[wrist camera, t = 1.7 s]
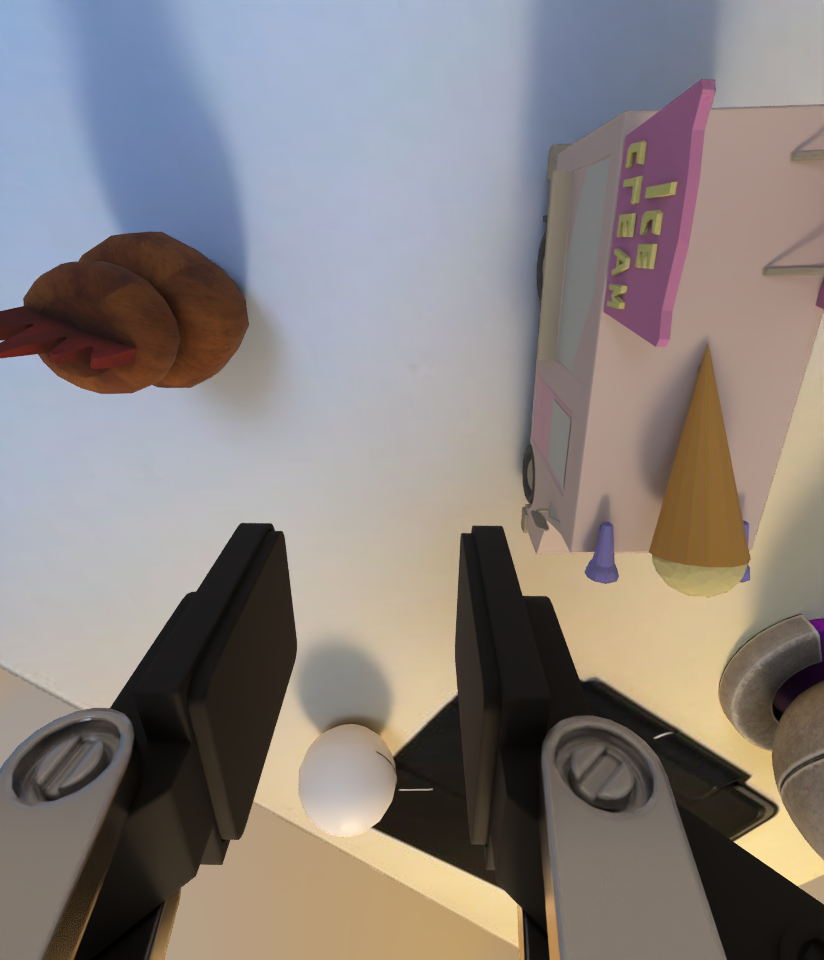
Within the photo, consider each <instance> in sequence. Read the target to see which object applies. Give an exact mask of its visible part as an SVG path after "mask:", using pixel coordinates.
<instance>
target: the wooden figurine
mask: <svg viewBox="0 0 824 960" xmlns="http://www.w3.org/2000/svg"><path fill="white" fill-rule="evenodd" d="M23 299H24V306H23V307H18V308H13V309H9V310H4V311H0V340H5V341H3V342H1V343H0V358H7V357H16V356H24V355H33V354H38V355H39V356H40V358H41V359H42V361H43V362H44V363H45V364H46V365H47V366H48V367H49V368H50V369H51V370H52V371H53V372H54V373H55V374H56V375H57V376H59V377H61V378H63V379H65V380H67V381H68V382H70V383H72V384H74V385H76V386H78V387H80V388H83V389H86V390H90V391H93V392H97V393H100V394H118V393H134V392H136V391H138V390H141V389H143V388H145V387H148V386H150V385H154V386H156V387H162V388H191V387H193V386H195V385H197V384H199V383H201V382H203V381H205V380H207V379H209V378H211V377H212V376H214V375H215V374H216V373H218V372H219V371H220V370H221V369H222V368H223V367H224V366H225V365H226V364H227V362H228V361H229V360H230V359H231V357H232V356H233V355H234V353H235V352H236V351H237V349H238V348H239V346H240V344H241V342H242V340H243V337H244V335H245V333H246V330H247V328H248V326H249V322H248V315H247V307H246V301H245V299H244V297H243V296H242V294H241V293H240V291H239V289H238V288H237V286H236V285H235V283H234V282H233V281H232V280H231V278H230V277H229V276H228V275H227V274H226V273H225V272H224V271H223V270H222V269H221V268H220V267H218V266H217V265H216V264H214V263H213V262H212V261H210V260H209V259H208V258H207V257H205V256H204V255H203V254H201V253H200V252H198V251H197V250H195V249H194V248H192V247H190V246H188V245H186V244H184V243H182V242H180V241H178V240H176V239H174V238H172V237H170V236H169V235H167V234H165V233H163V232H141V233H128V234H120V235H114V236H110V237H109V238H107V239H106V240H104V241H103V242H101V243H100V244H98V245H97V246H95V247H94V248H92V249H91V250H89V251H88V252H87V253H85V254H84V255H82V257H81V258H80V260H79V261H78V262H69V263H64V264H61V265H59V266H57V267H55V268H53V269H52V270H50V271H48V272H46V273H44V274H43V275H41V276H40V277H39V278H38V279H37V280H36V281H35V282H34V283H33V285H32V286H31V288H30V289H29V291H28V292H27V294H26V295H25V297H24V298H23Z"/></svg>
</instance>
